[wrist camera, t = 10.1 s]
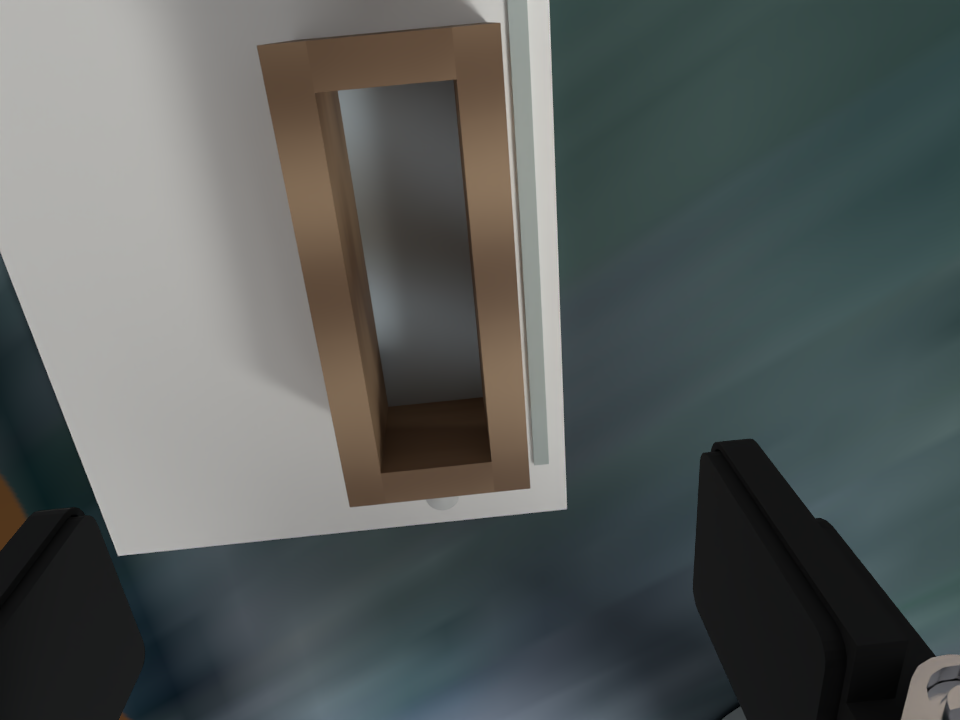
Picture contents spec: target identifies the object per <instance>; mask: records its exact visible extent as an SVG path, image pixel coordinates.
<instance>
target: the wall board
mask: <svg viewBox="0 0 960 720" xmlns="http://www.w3.org/2000/svg"><path fill="white" fill-rule="evenodd" d="M483 22H495V23H500V24H501V39H502V55H503V70H504V86H505V101H506V117H507V132H508V148H509V163H510V179H511V194H512V210H513V225H514V241H515V256H516V272H517V287H518V303H519V318H520V334H521V349H522V365H523V380H524V396H525V411H526V427H527V442H528V458H529V473H530V489H521V490H511V491H502V492H492V493H483V494H473V495H464V496H454V497H445V498H435V499H426V500H416V501H407V502H397V503H388V504H378V505H369V506H359V507H350V506H349V501H348V496H347V491H346V486H345V481H344V476H343V471H342V466H341V461H340V456H339V451H338V447H337V442H336V437H335V432H334V427H333V422H332V417H331V412H330V407H329V402H328V397H327V392H326V387H325V382H324V377H323V372H322V367H321V362H320V357H319V352H318V347H317V342H316V338H315V333H314V328H313V323H312V318H311V313H310V308H309V303H308V298H307V293H306V288H305V283H304V278H303V273H302V268H301V263H300V258H299V253H298V248H297V243H296V238H295V233H294V229H293V224H292V219H291V214H290V209H289V204H288V199H287V194H286V189H285V184H284V179H283V174H282V169H281V164H280V159H279V154H278V149H277V144H276V139H275V134H274V129H273V124H272V120H271V115H270V110H269V105H268V100H267V95H266V90H265V85H264V80H263V75H262V70H261V65H260V60H259V55H258V50H257V45H264V44H270V43H277V42H284V41H291V40H300V39H311V38H322V37H333V36H343V35H354V34H365V33H375V32H386V31H397V30H408V29H418V28H429V27H440V26H450V25H461V24H472V23H483ZM0 253H1V255H2V258H3V260H4V263H5V265H6V268H7V271H8V273H9V276H10V278H11V281H12V283H13V286H14V289H15V291H16V294H17V296H18V299H19V302H20V304H21V307H22V309H23V312H24V314H25V317H26V320H27V322H28V325H29V327H30V330H31V332H32V335H33V338H34V340H35V343H36V345H37V348H38V350H39V353H40V356H41V358H42V361H43V363H44V366H45V369H46V371H47V374H48V376H49V379H50V381H51V384H52V387H53V389H54V392H55V394H56V397H57V399H58V402H59V405H60V407H61V410H62V412H63V415H64V417H65V420H66V423H67V425H68V428H69V430H70V433H71V436H72V438H73V441H74V443H75V446H76V448H77V451H78V454H79V456H80V459H81V461H82V464H83V466H84V469H85V472H86V474H87V477H88V479H89V482H90V485H91V487H92V490H93V492H94V495H95V497H96V500H97V503H98V505H99V508H100V510H101V513H102V515H103V518H104V521H105V523H106V526H107V528H108V531H109V533H110V536H111V539H112V541H113V544H114V546H115V549H116V552H117V554H118V556H122V555H132V554H141V553H151V552H161V551H170V550H180V549H189V548H199V547H209V546H218V545H228V544H237V543H247V542H257V541H266V540H276V539H285V538H295V537H305V536H314V535H324V534H334V533H343V532H353V531H362V530H372V529H382V528H391V527H401V526H410V525H420V524H430V523H439V522H449V521H458V520H468V519H478V518H487V517H497V516H506V515H516V514H526V513H535V512H545V511H554V510H564V509H567V495H566V466H565V438H564V409H563V380H562V352H561V323H560V295H559V266H558V238H557V209H556V181H555V152H554V124H553V95H552V67H551V38H550V9H549V0H0Z"/></svg>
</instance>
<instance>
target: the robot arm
mask: <svg viewBox="0 0 960 720" xmlns="http://www.w3.org/2000/svg"><path fill="white" fill-rule="evenodd" d="M693 593H694V599H695V603H696V607H697V609H698V612H699V614H700V616H701V619H702V621H703V623H704V625H705V628H706V630H707V632H708V634H709V637H710V639H711V641H712V643H713V646H714V648H715V650H716V652H717V654H718V657H719V659H720V661H721V663H722V666H723V668H724V670H725V672H726V675H727V677H728V679H729V681H730V684H731V686H732V688H733V690H734V693H735V695H736V697H737V699H738V701H739V704H740V707H739V708H737V709H736V710H734V711H733V712H731V713H730V714H728V715H727V716H725V717H724V718H723V719H722V720H960V655H950V654H949V655H943V656H938V657H936V656H935V655H934V653H933V652H932V651H931V650H930V648H929V647H928V646H927V645H926V643H925V642H924V641H923V640H922V638H921V637H920V636H919V634H918V633H917V632H916V631H915V629H914V628H913V627H912V626H911V624H910V623H909V622H908V621H907V619H906V618H905V617H904V616H903V614H902V613H901V612H900V611H899V609H898V608H897V607H896V605H895V604H894V603H893V602H892V600H891V599H890V598H889V597H888V595H887V594H886V593H885V592H884V590H883V589H882V588H881V587H880V585H879V584H878V583H877V581H876V580H875V579H874V578H873V576H872V575H871V574H870V573H869V571H868V570H867V569H866V568H865V566H864V565H863V564H862V563H861V561H860V560H859V559H858V558H857V556H856V555H855V554H854V552H853V551H852V550H851V549H850V547H849V546H848V545H847V544H846V542H845V541H844V540H843V539H842V537H841V536H840V535H839V534H838V532H837V531H836V530H835V528H834V527H833V526H832V525H831V524H830V523H829V522H828V521H826V520H824V519H821V518H816V519H815V518H814V516H813V515H812V514H811V513H810V511H809V510H808V509H807V507H806V506H805V505H804V503H803V502H802V501H801V500H800V498H799V497H798V496H797V494H796V493H795V492H794V490H793V489H792V488H791V487H790V485H789V484H788V483H787V481H786V480H785V479H784V477H783V476H782V475H781V474H780V472H779V471H778V470H777V468H776V467H775V466H774V464H773V463H772V462H771V461H770V459H769V458H768V457H767V455H766V454H765V453H764V451H763V450H762V449H761V448H760V446H759V445H758V444H757V442H755V441H754V440H753V439H742V440H732V441H722V442H715V443H714V444H713V446H712V449H711V452H707V453H703V454H702V455H701V459H700V472H699V489H698V507H697V524H696V541H695V559H694V576H693ZM144 659H145V647H144V643H143V640H142V637H141V635H140V632H139V630H138V627H137V624H136V622H135V619H134V617H133V614H132V612H131V609H130V606H129V604H128V601H127V599H126V596H125V594H124V591H123V588H122V586H121V583H120V581H119V578H118V576H117V573H116V570H115V568H114V565H113V563H112V560H111V558H110V555H109V553H108V550H107V547H106V545H105V542H104V540H103V537H102V535H101V532H100V529H99V527H98V524H97V522H96V520H95V519H94V518H93V517H92V516H89V515H87V516H85V514H84V512H83V511H81V510H80V509H79V508H75V507H72V508H62V509H52V510H43V511H37V512H34V513H33V514H32V515H31V516H29V517H28V519H27V520H26V521H25V522H24V524H23V525H22V526H21V527H20V528H19V529H18V531H17V532H16V533H15V534H14V536H13V537H12V538H11V539H10V540H9V541H8V543H7V544H6V545H5V546H4V548H3V549H2V550H1V551H0V720H119V718H120V716H121V713H122V711H123V709H124V707H125V705H126V703H127V700H128V698H129V696H130V694H131V692H132V689H133V687H134V685H135V683H136V681H137V679H138V676H139V674H140V672H141V670H142V667H143V664H144Z"/></svg>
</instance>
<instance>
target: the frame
mask: <svg viewBox="0 0 960 720" xmlns="http://www.w3.org/2000/svg"><path fill="white" fill-rule="evenodd" d="M257 50H258V55H259V60H260V65H261V70H262V75H263V80H264V85H265V90H266V95H267V100H268V105H269V110H270V115H271V120H272V124H273V129H274V134H275V139H276V144H277V149H278V154H279V159H280V164H281V169H282V174H283V179H284V184H285V189H286V194H287V199H288V204H289V209H290V214H291V219H292V224H293V229H294V233H295V238H296V243H297V248H298V253H299V258H300V263H301V268H302V273H303V278H304V283H305V288H306V293H307V298H308V303H309V308H310V313H311V318H312V323H313V328H314V333H315V338H316V342H317V347H318V352H319V357H320V362H321V367H322V372H323V377H324V382H325V387H326V392H327V397H328V402H329V407H330V412H331V417H332V422H333V427H334V432H335V437H336V442H337V447H338V451H339V456H340V461H341V466H342V471H343V476H344V481H345V486H346V491H347V496H348V501H349V506H350V507H359V506H369V505H378V504H388V503H397V502H407V501H416V500H426V499H435V498H445V497H454V496H464V495H473V494H483V493H492V492H502V491H511V490H521V489H530V473H529V458H528V442H527V427H526V411H525V396H524V380H523V365H522V349H521V334H520V318H519V303H518V287H517V272H516V256H515V241H514V225H513V210H512V194H511V179H510V163H509V148H508V132H507V117H506V101H505V86H504V70H503V55H502V39H501V24H500V23H495V22H483V23H472V24H461V25H450V26H440V27H429V28H418V29H408V30H397V31H386V32H375V33H365V34H354V35H343V36H333V37H322V38H311V39H300V40H291V41H284V42H277V43H270V44H264V45H257Z"/></svg>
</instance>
